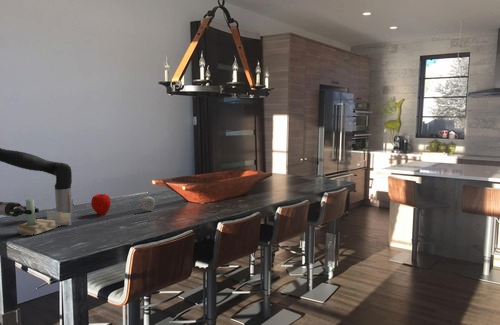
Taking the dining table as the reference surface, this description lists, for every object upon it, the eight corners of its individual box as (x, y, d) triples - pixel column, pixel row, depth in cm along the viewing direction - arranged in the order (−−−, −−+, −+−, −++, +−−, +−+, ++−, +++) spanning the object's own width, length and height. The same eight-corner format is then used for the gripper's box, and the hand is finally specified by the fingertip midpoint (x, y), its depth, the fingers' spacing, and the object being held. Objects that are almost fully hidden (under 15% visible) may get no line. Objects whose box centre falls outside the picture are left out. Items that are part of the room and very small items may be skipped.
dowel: (31, 224, 219) (30, 199, 218) (37, 225, 218) (36, 199, 216) (25, 226, 215) (24, 200, 214) (31, 227, 214) (29, 200, 213)
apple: (87, 215, 256) (86, 194, 254) (102, 211, 266) (101, 191, 265) (100, 217, 250) (99, 196, 249) (115, 213, 261) (114, 193, 259)
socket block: (38, 225, 229) (38, 219, 228) (55, 227, 225) (55, 220, 224) (17, 232, 215) (16, 225, 215) (35, 234, 212) (34, 227, 211)
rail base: (49, 222, 238) (48, 211, 238) (71, 224, 233) (70, 212, 233) (13, 234, 215) (12, 221, 214) (36, 236, 210) (35, 223, 209)
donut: (142, 213, 261) (141, 197, 260) (139, 212, 264) (139, 197, 263) (156, 210, 268) (155, 195, 267) (153, 209, 270) (153, 195, 269)
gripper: (-2, 204, 213) (23, 207, 208) (20, 199, 227) (45, 202, 221) (-2, 218, 214) (24, 221, 209) (21, 213, 227) (45, 215, 222)
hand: (34, 211), depth 215 cm, fingers closed on dowel, 4 cm apart
